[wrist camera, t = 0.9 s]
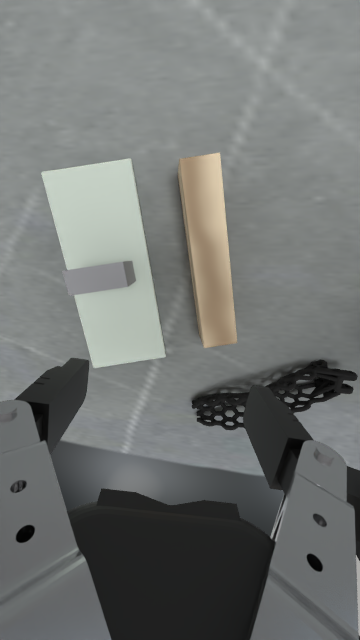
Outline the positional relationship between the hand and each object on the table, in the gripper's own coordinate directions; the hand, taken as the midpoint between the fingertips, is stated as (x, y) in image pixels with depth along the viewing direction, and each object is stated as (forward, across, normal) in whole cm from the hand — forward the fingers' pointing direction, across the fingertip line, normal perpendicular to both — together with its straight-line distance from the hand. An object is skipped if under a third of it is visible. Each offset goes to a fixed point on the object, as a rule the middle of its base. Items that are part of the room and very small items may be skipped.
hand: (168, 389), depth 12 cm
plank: (+21, -3, -7) cm, 22 cm away
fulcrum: (+21, +8, -3) cm, 22 cm away
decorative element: (+22, -16, +10) cm, 29 cm away
